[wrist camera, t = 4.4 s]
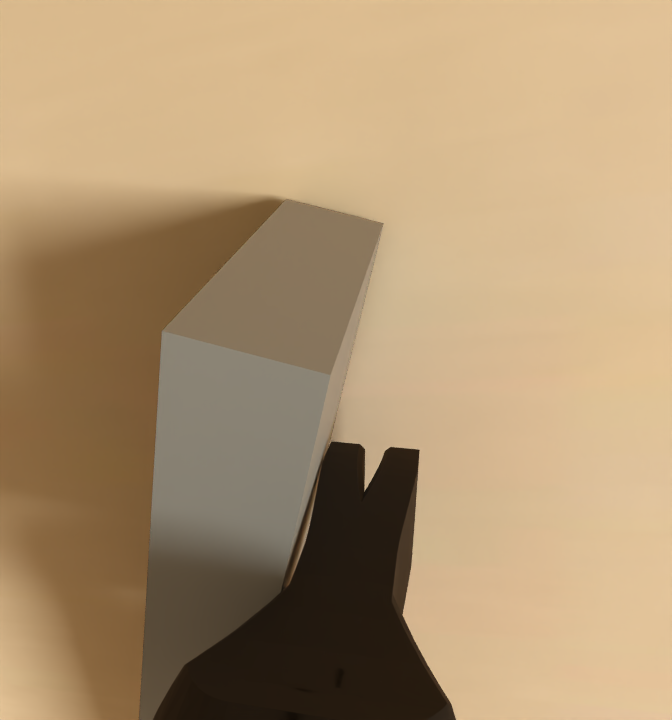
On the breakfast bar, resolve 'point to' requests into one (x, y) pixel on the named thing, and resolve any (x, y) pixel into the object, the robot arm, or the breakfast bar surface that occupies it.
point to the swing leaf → (247, 428)
